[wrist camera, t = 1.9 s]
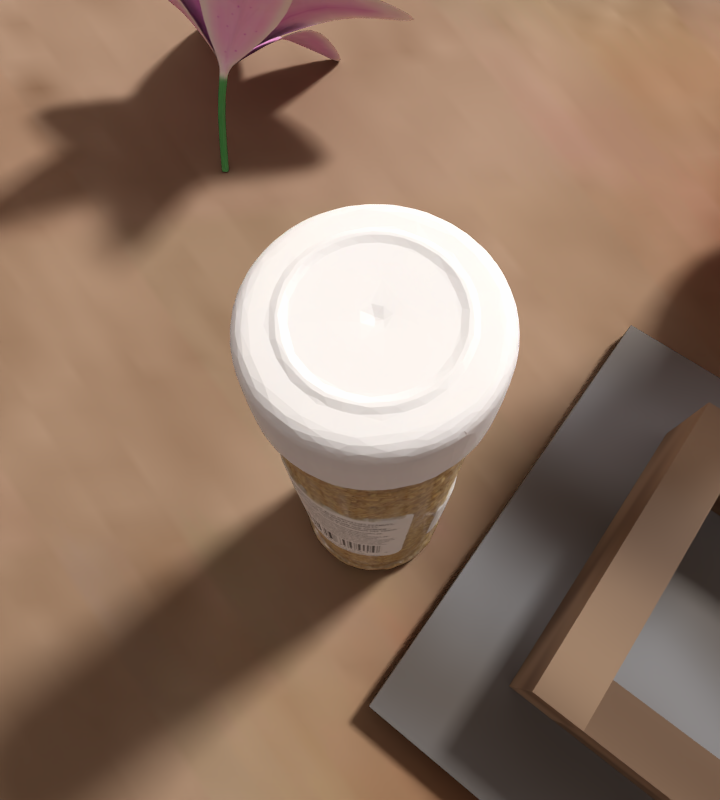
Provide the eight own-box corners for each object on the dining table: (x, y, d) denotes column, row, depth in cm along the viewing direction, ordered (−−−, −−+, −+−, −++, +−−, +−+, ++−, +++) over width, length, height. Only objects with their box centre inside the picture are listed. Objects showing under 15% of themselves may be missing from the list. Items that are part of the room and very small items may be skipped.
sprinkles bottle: (466, 508, 22) (591, 320, 10) (369, 602, 21) (367, 529, 8) (374, 417, 23) (380, 145, 11) (279, 501, 22) (162, 308, 10)
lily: (431, 164, 29) (457, -108, 23) (221, 243, 22) (178, -115, 16) (258, 109, 35) (242, -116, 29) (51, 158, 28) (-25, -124, 22)
